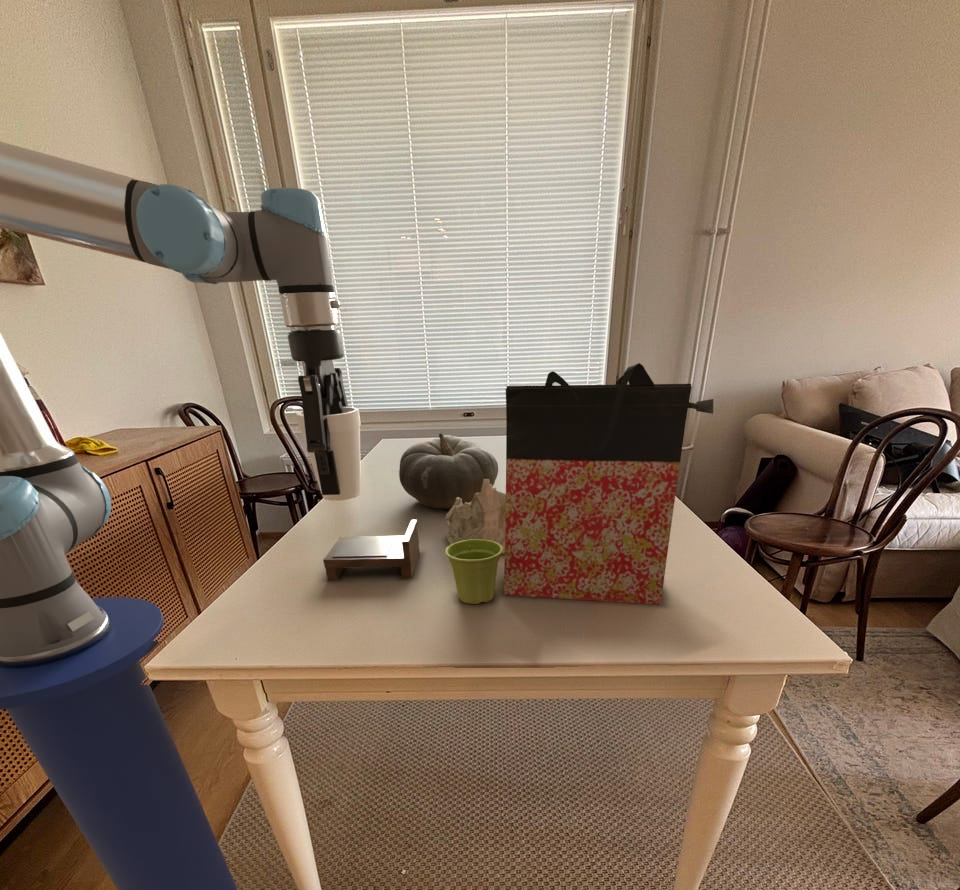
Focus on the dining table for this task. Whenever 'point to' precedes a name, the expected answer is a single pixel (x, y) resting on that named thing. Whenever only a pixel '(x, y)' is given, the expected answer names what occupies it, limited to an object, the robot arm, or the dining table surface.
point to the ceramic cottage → (479, 517)
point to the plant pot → (474, 568)
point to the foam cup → (341, 451)
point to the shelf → (375, 552)
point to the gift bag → (592, 486)
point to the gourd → (446, 471)
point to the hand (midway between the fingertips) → (340, 485)
